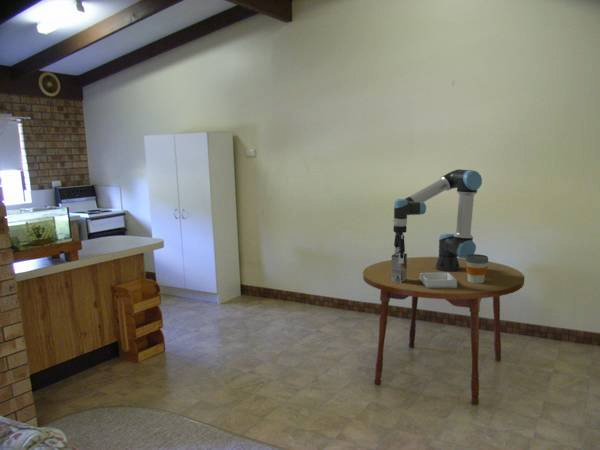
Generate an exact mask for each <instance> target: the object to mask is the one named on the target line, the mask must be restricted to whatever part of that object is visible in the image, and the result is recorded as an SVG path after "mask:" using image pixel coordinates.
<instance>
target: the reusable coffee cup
mask: <svg viewBox="0 0 600 450" xmlns="http://www.w3.org/2000/svg"><path fill="white" fill-rule="evenodd" d="M465 263H466V265H465V270H466V271H465V272H466V275H467V281H468V282H469V283H473V284H483V283H484V282H485V278H486V275H487V272H488V267H489V266H488V263H489V257H488V256H487V255H484V254H479V253H474V254H470V255H467V256H466V259H465Z"/></svg>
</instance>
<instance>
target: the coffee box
mask: <svg viewBox="0 0 600 450" xmlns="http://www.w3.org/2000/svg"><path fill="white" fill-rule="evenodd" d="M407 261H408V254H407V253H405V252H404V263H399V253H396V254H394V253H393V254H392V255H391V277H390V278H391V282H393V283H403V282H404V281H405V280H407V271H408V270H407V268H408V267H407V266H408V265H407Z"/></svg>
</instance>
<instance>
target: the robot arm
mask: <svg viewBox="0 0 600 450" xmlns="http://www.w3.org/2000/svg"><path fill="white" fill-rule="evenodd" d="M482 184H483V178H482V176H481V174H480V173H479V172H478V171H477V170H473V169H455V170H452V171H449V172H448V173H446V174H444V175H442V176H441V177H439V180H437V181H434V182H432V183H431V184H430V185H427V186H425V187H424V188H422V189H420V190H418V191H416V192H415V193H412V194H411V195H410V196H407V197H406V198H396V199H395V200H394V205H393V220H392V222H393V230H392V231H393V233H395V235H394V244H393V245H394V253H393V255H394V254H396V253H399V263H404V253H405V252H406V247H405V244H406V243H405V235H404V234H405V233H407V227H408V226H407V225H408V216H417V215H418V216H420V215H425V213H426V211H427V205H426V203H425V202H427V201H428V200H430V199H432V198H434V197H436V196H438V195H440V194H441V193H443V192H445V191H446V192H447V191H450V190H452V189H456V192H457V194H458V196H459V197H458V206H457V215H456V228H455V229H456V230H455V233H443V234H440V235H439V239H438V243H439V244H438V257H437V260H436V263H435V269H436V270H438V271H443V272H456V271H460V267H461V265H460V262H459V259H465V260H466V256H467V255H470V254H476V250H477V245H476V243H475V242H474V241H473V238H474V237H473V235H472V234H471V231H472V221H473V211H474V201H475V200H474V199H475V198H474V197H475V195H476V194H477V193H478V190H479V189H480V187H481V186H482Z"/></svg>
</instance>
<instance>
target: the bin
mask: <svg viewBox="0 0 600 450" xmlns="http://www.w3.org/2000/svg"><path fill="white" fill-rule="evenodd" d="M419 281H420V282H421V284H423V286H424V288H426V289H457V288H458V279H456V277H454V276H453V275H452V274H451V273H450V272H449V271H444V272H419Z"/></svg>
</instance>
